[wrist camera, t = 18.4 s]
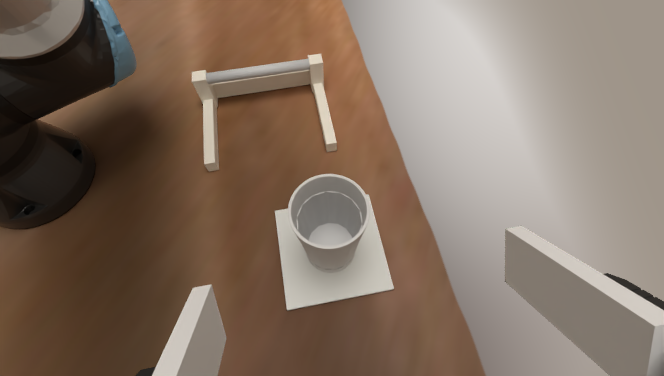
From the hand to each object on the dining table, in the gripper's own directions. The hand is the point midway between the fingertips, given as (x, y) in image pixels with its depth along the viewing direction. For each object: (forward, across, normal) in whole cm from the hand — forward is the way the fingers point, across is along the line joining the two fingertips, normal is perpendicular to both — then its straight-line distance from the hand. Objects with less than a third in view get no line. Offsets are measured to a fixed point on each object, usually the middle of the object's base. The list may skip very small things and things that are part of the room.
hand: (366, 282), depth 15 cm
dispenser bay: (+43, -6, +4) cm, 44 cm away
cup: (+27, 0, -12) cm, 29 cm away
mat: (+27, 0, -12) cm, 30 cm away
